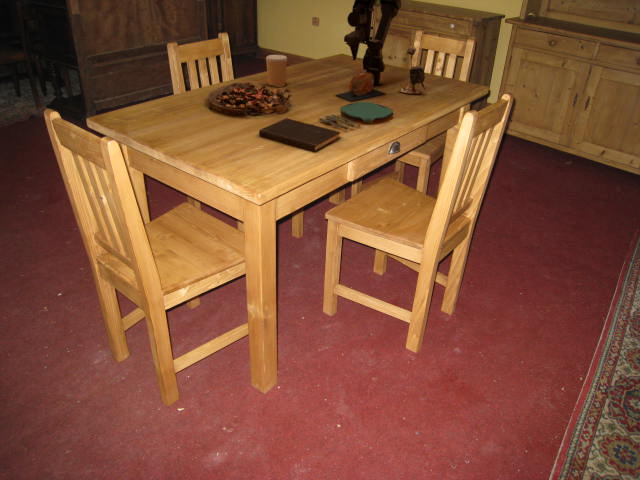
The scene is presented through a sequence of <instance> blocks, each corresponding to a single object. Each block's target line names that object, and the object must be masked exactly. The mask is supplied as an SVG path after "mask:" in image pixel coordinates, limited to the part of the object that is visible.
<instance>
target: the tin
mask: <svg viewBox="0 0 640 480" xmlns="http://www.w3.org/2000/svg"><path fill="white" fill-rule="evenodd" d="M374 87H375V86H374V75H373V74H372V73H367V72H366V71H365V72H362V73H359V74H356V75H354V76H352V77H351V79H350V81H349V92H351V94H353V95H356V96H360V95H363V94H366V93H369V92H370V91H371V90H372V89H373V88H374Z"/></svg>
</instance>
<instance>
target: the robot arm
mask: <svg viewBox="0 0 640 480" xmlns="http://www.w3.org/2000/svg"><path fill="white" fill-rule="evenodd" d="M378 2H379V4H380V13H381V17H380V19H379V24H378V26H377V29H376V32H375V36H374V39H373V36H371V34H372V30H374V26H372V22H373V12H375V8H374V7H375V6H376V5H377V3H378ZM401 8H402V0H354V3H353V5H352V10H351V12H349V13H348V15H347V18H346V19H347V20H346V21H347V24H348V25H349V26H350V27H351V28H354V30H352V31H350V32H349V33H347V34H345V35H344V37H343V42H344V43H345V44H346V45H347V46H348V47H349V49H350V52H351V56H352V60H353V61H357V57H358V52H359V49H360V44H362V45H366V48H365V52H364V54H363V57H362V69H363V71H365V72H367V73H372V74H373V75H374V86H373V87H377V86H380V85H381V86H382V85H383V82H381V73H384V72H385V68H386V64H385V63H384V55H383V49H384V46H385V42H386V39H387V36H388V33H389V30H390V27H391V25H392V20H393V19H394V18H395V17H397V16H398V14H399V12H400V10H401Z"/></svg>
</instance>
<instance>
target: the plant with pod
mask: <svg viewBox="0 0 640 480" xmlns="http://www.w3.org/2000/svg"><path fill="white" fill-rule="evenodd" d="M416 51H417V48H416V47H414V46H413V45H410V46H409V47H408V49H407V51H406V54H405V56H407V55H410V58H411V59H410V60H411V63H410V68H409V83H410V84H406V87H401V89H399V92H401V93H406V94H414V95H415V94H416V95H419V94H420V93H421V90H420V89H416V87H415V86H416V85H419V84H421V86H422V88H423V89H424V90H425V91H426V87H425V85H424V82H425V78H426V76H425V70H424V69H425V68H424V66H422V65H417V66H413V56H414V55H415V53H416Z"/></svg>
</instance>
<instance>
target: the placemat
mask: <svg viewBox="0 0 640 480" xmlns="http://www.w3.org/2000/svg"><path fill="white" fill-rule="evenodd" d="M384 95H386V92H383V91H380V90H377V89H372V90H371V91H370V92H369V93H366V94H363V95H360V96H356V95H353V94H351V92H350V91H348V92H341V93H338V94H336V95H335V97H337V98H340V99H342V100H345V101H348V102H351V103H353V102H359V101H362V100H367V99H371V98H375V97H379V96H384Z"/></svg>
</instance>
